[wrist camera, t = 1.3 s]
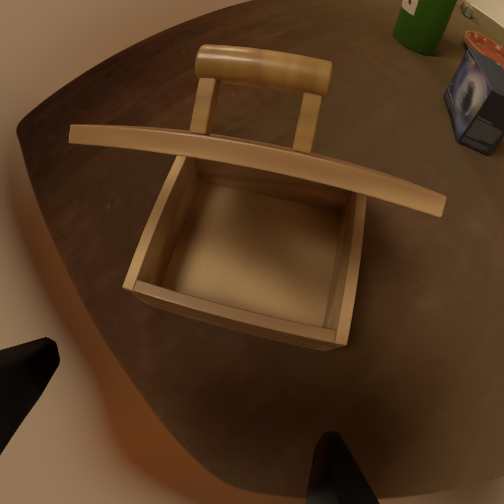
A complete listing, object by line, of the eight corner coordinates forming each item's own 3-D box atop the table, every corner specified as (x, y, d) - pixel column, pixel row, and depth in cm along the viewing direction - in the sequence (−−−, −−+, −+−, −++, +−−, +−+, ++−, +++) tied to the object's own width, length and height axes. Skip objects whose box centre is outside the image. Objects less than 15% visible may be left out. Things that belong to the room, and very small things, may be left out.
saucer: (483, 42, 48) (487, 32, 45) (543, 101, 41) (549, 92, 37) (444, 39, 44) (449, 27, 41) (520, 110, 37) (528, 98, 33)
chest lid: (441, 218, 9) (466, 95, 7) (67, 143, 10) (86, 39, 9) (368, 178, 22) (381, 120, 20) (183, 140, 23) (193, 84, 21)
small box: (440, 94, 35) (466, 43, 25) (473, 108, 35) (501, 63, 25) (454, 142, 31) (491, 86, 22) (489, 157, 31) (528, 109, 21)
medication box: (469, 19, 55) (474, 11, 52) (463, 14, 56) (467, 6, 52) (466, 10, 59) (470, 3, 55) (460, 6, 59) (464, -2, 55)
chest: (325, 351, 23) (347, 345, 17) (149, 305, 24) (122, 287, 19) (348, 212, 27) (367, 176, 22) (196, 179, 29) (185, 138, 23)
